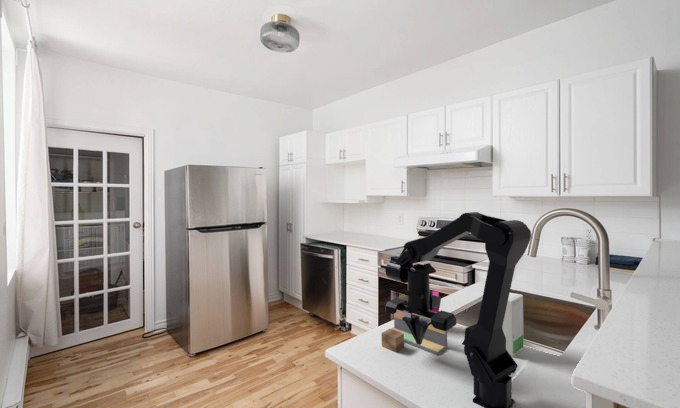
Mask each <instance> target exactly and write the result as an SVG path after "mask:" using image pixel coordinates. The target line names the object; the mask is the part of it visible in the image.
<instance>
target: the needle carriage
mask: <svg viewBox="0 0 680 408" xmlns="http://www.w3.org/2000/svg"><path fill="white" fill-rule="evenodd" d="M381 347H382V348H385V349H387V350H389V351H392V352H394V353H397V352H398V351H400V350H402V349H403V348H404V347H405V343H404V334H403V333H401V332H398V331H395V330H393V329H391V328H388V329H386V330H384V331H382V332H381Z"/></svg>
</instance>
